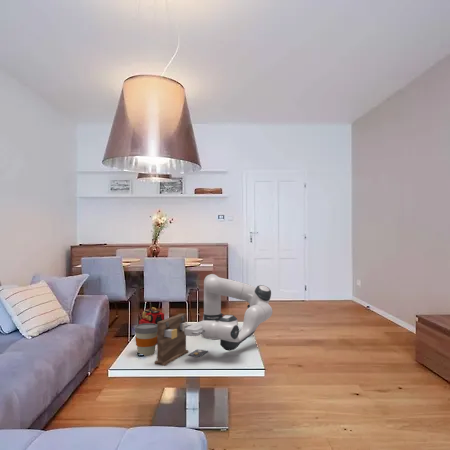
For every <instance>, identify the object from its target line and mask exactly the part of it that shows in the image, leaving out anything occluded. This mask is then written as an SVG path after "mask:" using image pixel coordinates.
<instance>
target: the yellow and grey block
mask: <svg viewBox="0 0 450 450" xmlns="http://www.w3.org/2000/svg"><path fill="white" fill-rule="evenodd" d="M164 337H170V338H171V339H174V338H176V337H177V329H174V330H172V329H164Z"/></svg>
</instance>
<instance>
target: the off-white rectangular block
mask: <svg viewBox="0 0 450 450" xmlns="http://www.w3.org/2000/svg"><path fill="white" fill-rule="evenodd" d="M185 325H188V322H187V321H186V322H185V323H181V322H180V330H182V331H184V326H185Z"/></svg>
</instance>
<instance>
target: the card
mask: <svg viewBox="0 0 450 450" xmlns="http://www.w3.org/2000/svg"><path fill="white" fill-rule="evenodd" d="M207 353H209V350H204V349H198V348H197V349H195V350H194V351H192V352H189V353H187V356H189V357H194V358H195V357H196V358H201V357H203V356H205V354H207Z"/></svg>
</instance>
